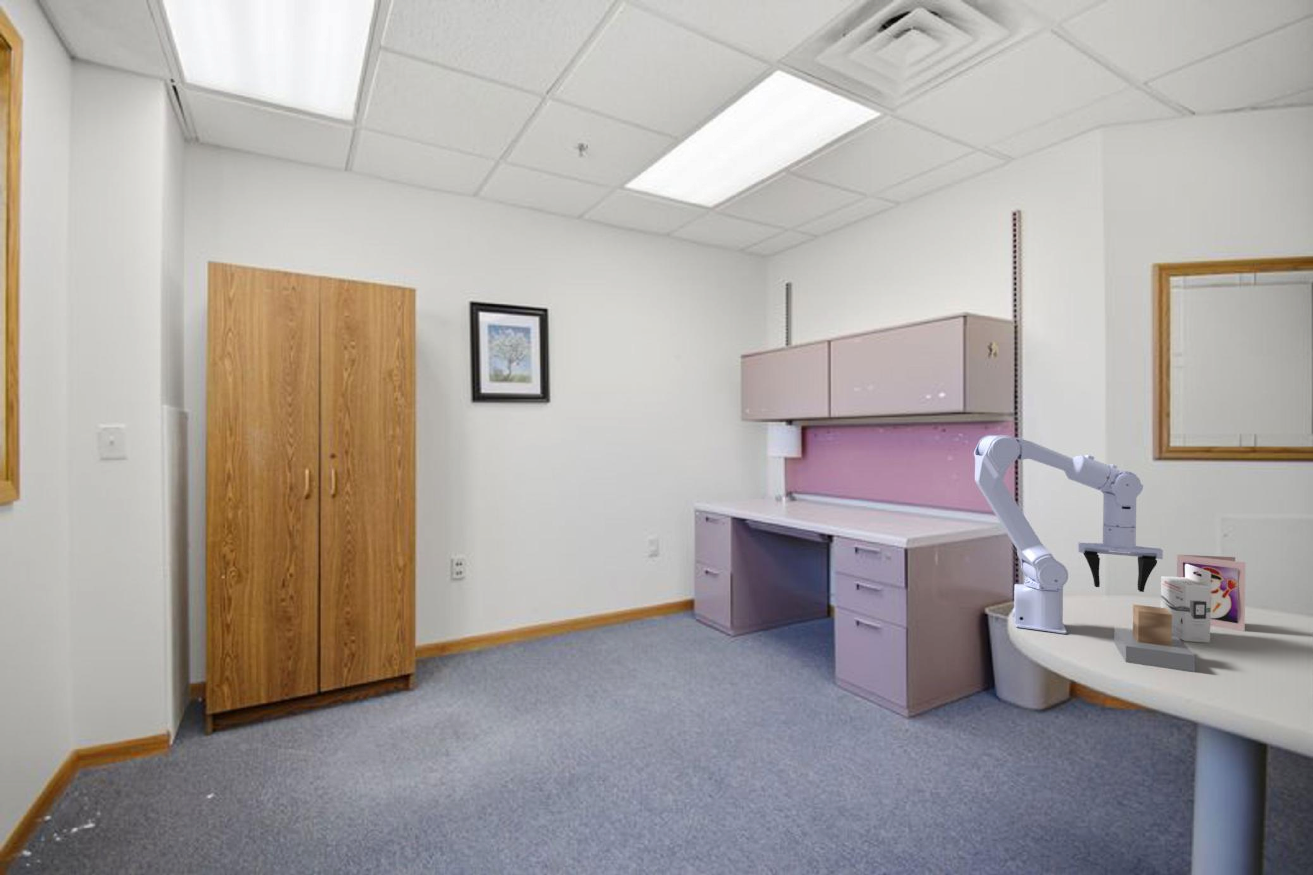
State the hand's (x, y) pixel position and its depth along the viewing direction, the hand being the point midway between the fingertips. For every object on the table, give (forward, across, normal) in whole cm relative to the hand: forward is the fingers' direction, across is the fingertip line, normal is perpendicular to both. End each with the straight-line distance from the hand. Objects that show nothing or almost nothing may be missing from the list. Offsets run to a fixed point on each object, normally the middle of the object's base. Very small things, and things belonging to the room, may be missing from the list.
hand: (1118, 588), depth 132 cm
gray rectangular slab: (+9, +3, -15) cm, 18 cm away
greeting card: (+10, +20, +19) cm, 29 cm away
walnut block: (+6, +3, -15) cm, 16 cm away
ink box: (+10, +12, +4) cm, 16 cm away
